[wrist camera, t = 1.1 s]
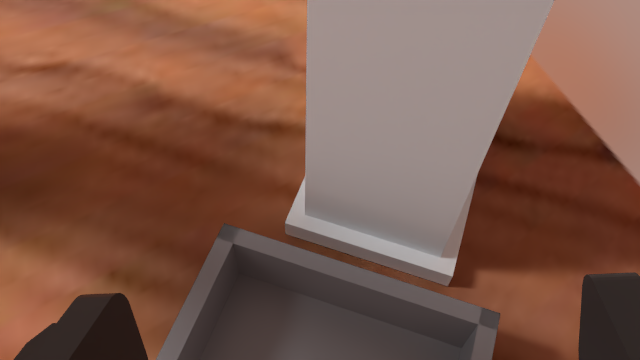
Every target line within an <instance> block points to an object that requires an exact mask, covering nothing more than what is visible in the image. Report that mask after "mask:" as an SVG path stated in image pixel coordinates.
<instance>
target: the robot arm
mask: <svg viewBox="0 0 640 360" xmlns="http://www.w3.org/2000/svg"><path fill="white" fill-rule="evenodd" d="M14 360H148V357H147V354H146V351H145V348H144V345H143V342H142V339H141V336H140V333H139V330H138V327H137V324H136V321H135V318H134V316H133V313H132V310H131V307H130V304H129V301H128V299H127V298H126V297H125V295H123V294H121V293H112V294H88V295H80V296H78V297H77V298H76V299H75V300H74V301H73V303H72V304H71V305H70V307H69V308H68V309H67V310H66V312H65V313H64V314H63V316H62V317H61V318H60V320H59V321H58V322H57V323H52V324H51V325H50V326H48V327H47V328H46V329H45V330H43V331H42V332H41V333H39V334H38V335H37V336H35V337H34V338H33V339H31V340H30V341H29V342H28V343H26V345H25V346H24V347H23V348H22V350H21V351H20V352H19V354H18V355H17V356H16V357H15V359H14ZM579 360H640V276H639V275H638V274H637V273H613V274H589V275H585V277H584V280H583V285H582V300H581V317H580V333H579Z"/></svg>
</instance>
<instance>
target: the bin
mask: <svg viewBox="0 0 640 360" xmlns="http://www.w3.org/2000/svg"><path fill="white" fill-rule="evenodd" d="M499 319H500V313H498V312H494V311H491V310H488V309H485V308H482V307H479V306H476V305H473V304H470V303H467V302H464V301H461V300H458V299H455V298H452V297H448V296H445V295H442V294H439V293H436V292H433V291H430V290H427V289H424V288H421V287H418V286H415V285H412V284H409V283H406V282H402V281H399V280H396V279H393V278H390V277H387V276H384V275H381V274H378V273H375V272H372V271H369V270H366V269H363V268H360V267H356V266H353V265H350V264H347V263H344V262H341V261H338V260H335V259H332V258H329V257H326V256H323V255H320V254H317V253H314V252H310V251H307V250H304V249H301V248H298V247H295V246H292V245H289V244H286V243H283V242H280V241H277V240H274V239H271V238H268V237H264V236H261V235H258V234H255V233H252V232H249V231H246V230H243V229H240V228H237V227H234V226H231V225H228V224H225V223H224V224H223V226H222V228H221V230H220V232H219V234H218V236H217V238H216V240H215V242H214V244H213V246H212V248H211V250H210V252H209V254H208V256H207V258H206V260H205V262H204V264H203V266H202V268H201V270H200V272H199V274H198V276H197V278H196V280H195V282H194V284H193V286H192V288H191V290H190V292H189V294H188V296H187V298H186V300H185V302H184V304H183V306H182V308H181V310H180V312H179V314H178V316H177V318H176V321H175V323H174V325H173V327H172V329H171V331H170V333H169V335H168V337H167V339H166V341H165V343H164V345H163V347H162V349H161V351H160V353H159V355H158V357H157V359H156V360H492V355H493V350H494V345H495V340H496V334H497V329H498V324H499Z"/></svg>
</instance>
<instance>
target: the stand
mask: <svg viewBox="0 0 640 360" xmlns="http://www.w3.org/2000/svg"><path fill="white" fill-rule="evenodd" d="M553 2H554V0H307V71H306V154H305V178H304V180H303V182H302V184H301V187H300V189H299V191H298V194H297V196H296V198H295V201H294V203H293V205H292V207H291V210H290V212H289V214H288V217H287V219H286V221H285V234H287V235H290V236H293V237H297V238H300V239H303V240H306V241H309V242H312V243H315V244H318V245H321V246H324V247H327V248H331V249H334V250H337V251H340V252H343V253H346V254H349V255H352V256H355V257H358V258H361V259H365V260H368V261H371V262H374V263H377V264H380V265H383V266H386V267H389V268H392V269H395V270H399V271H402V272H405V273H408V274H411V275H414V276H417V277H420V278H423V279H426V280H429V281H433V282H436V283H439V284H442V285H445V286H448V285H449V283H450V281H451V279H452V277H453V273H454V269H455V265H456V261H457V257H458V253H459V249H460V244H461V240H462V236H463V232H464V228H465V224H466V220H467V216H468V212H469V208H470V203H471V199H472V195H473V191H474V187H475V183H476V179H477V175H478V172H479V169H480V167H481V165H482V163H483V160H484V158H485V156H486V154H487V151H488V149H489V147H490V145H491V142H492V140H493V138H494V135H495V133H496V131H497V129H498V126H499V124H500V122H501V120H502V117H503V115H504V113H505V111H506V108H507V106H508V104H509V102H510V99H511V97H512V95H513V93H514V90H515V88H516V86H517V84H518V81H519V79H520V77H521V75H522V72H523V70H524V68H525V66H526V63H527V61H528V59H529V57H530V54H531V52H532V50H533V47H534V45H535V43H536V41H537V38H538V36H539V34H540V32H541V29H542V27H543V25H544V22H545V20H546V18H547V16H548V14H549V11H550V9H551V7H552V5H553Z"/></svg>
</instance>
